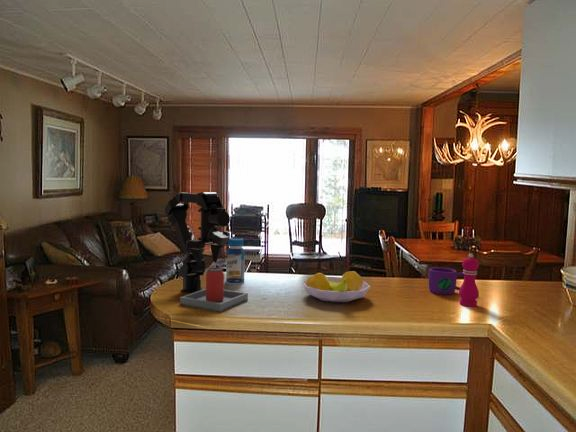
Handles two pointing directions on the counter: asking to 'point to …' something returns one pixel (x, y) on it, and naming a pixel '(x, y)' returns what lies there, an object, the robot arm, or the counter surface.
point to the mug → (443, 280)
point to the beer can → (214, 285)
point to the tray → (200, 301)
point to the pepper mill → (469, 282)
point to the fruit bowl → (336, 287)
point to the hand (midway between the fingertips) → (207, 264)
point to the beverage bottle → (235, 261)
